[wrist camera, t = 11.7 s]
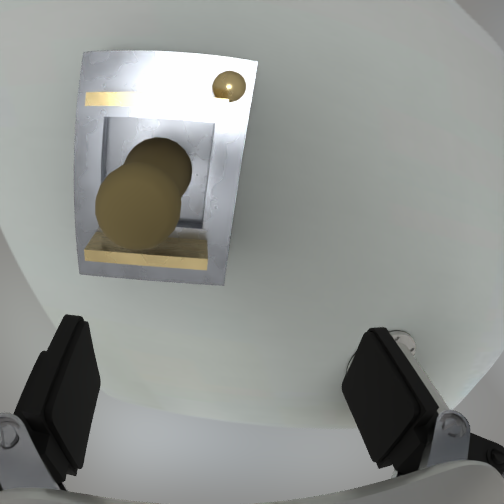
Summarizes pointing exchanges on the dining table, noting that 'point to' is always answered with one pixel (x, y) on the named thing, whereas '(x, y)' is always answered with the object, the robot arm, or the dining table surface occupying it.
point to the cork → (144, 194)
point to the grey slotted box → (176, 129)
